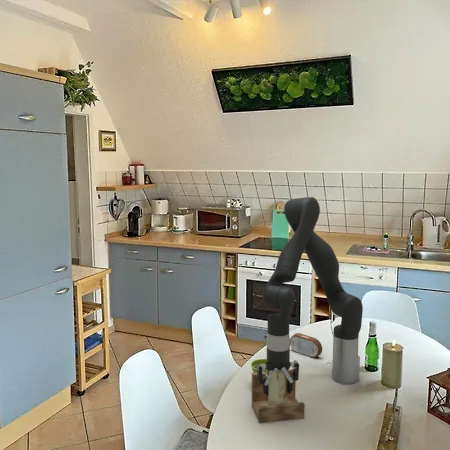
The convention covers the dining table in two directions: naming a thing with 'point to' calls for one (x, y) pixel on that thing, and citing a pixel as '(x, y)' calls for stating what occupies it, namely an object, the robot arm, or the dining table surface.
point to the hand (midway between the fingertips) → (277, 393)
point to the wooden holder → (275, 412)
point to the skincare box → (277, 388)
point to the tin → (306, 345)
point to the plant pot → (258, 361)
